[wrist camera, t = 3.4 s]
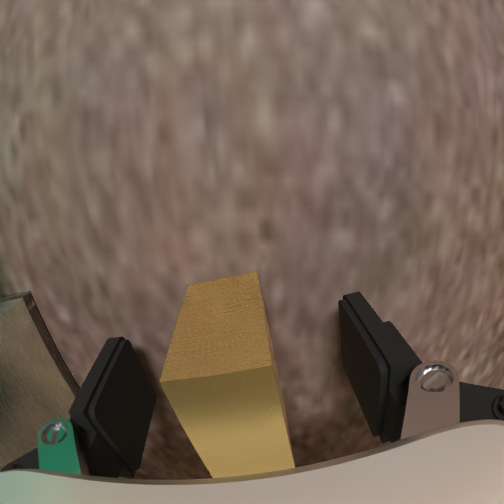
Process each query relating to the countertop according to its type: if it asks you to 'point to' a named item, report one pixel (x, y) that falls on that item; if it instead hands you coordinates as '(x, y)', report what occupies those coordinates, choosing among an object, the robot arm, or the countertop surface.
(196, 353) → the block
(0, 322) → the coin box
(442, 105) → the countertop surface
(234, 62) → the countertop surface
